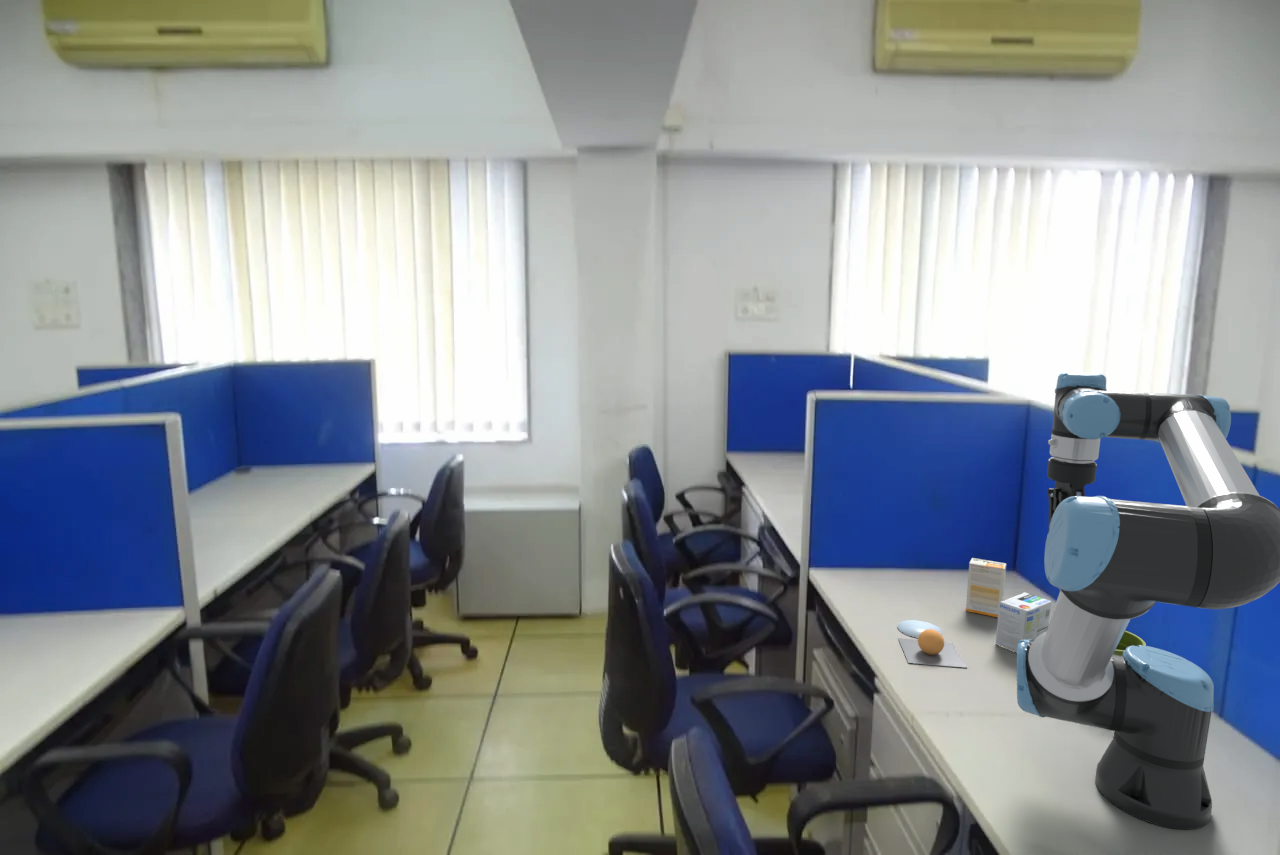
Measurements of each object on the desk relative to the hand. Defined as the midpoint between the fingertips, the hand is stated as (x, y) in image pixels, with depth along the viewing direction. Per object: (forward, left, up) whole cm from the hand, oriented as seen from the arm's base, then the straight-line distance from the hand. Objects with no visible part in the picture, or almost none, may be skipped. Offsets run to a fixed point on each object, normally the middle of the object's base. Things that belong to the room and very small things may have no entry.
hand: (1058, 584), depth 135 cm
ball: (+23, +16, -24) cm, 36 cm away
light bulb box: (+31, -6, -27) cm, 41 cm away
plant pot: (+13, -16, -27) cm, 34 cm away
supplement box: (+49, -3, -27) cm, 56 cm away
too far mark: (+35, +16, -26) cm, 47 cm away
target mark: (+23, +16, -26) cm, 38 cm away
